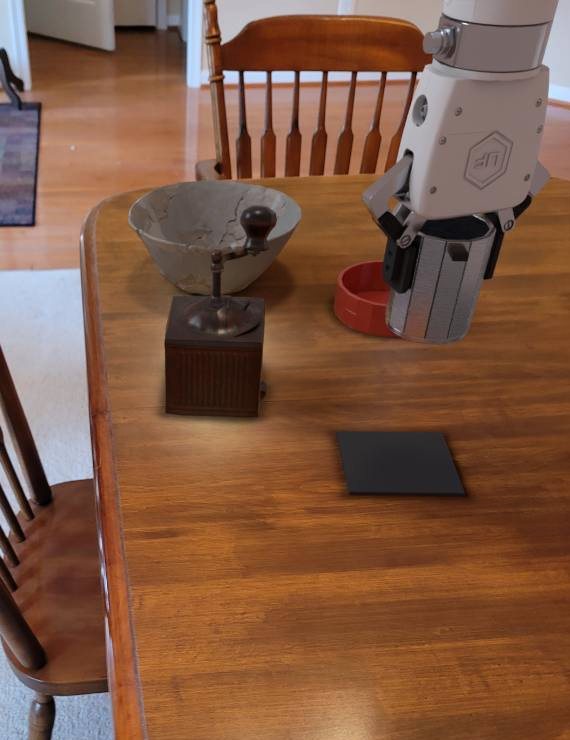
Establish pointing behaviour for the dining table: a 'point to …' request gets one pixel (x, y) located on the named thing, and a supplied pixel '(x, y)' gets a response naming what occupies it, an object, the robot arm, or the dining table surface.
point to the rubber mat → (398, 464)
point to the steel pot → (442, 280)
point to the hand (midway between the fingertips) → (436, 278)
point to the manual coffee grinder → (219, 339)
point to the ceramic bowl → (209, 231)
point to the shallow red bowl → (363, 298)
